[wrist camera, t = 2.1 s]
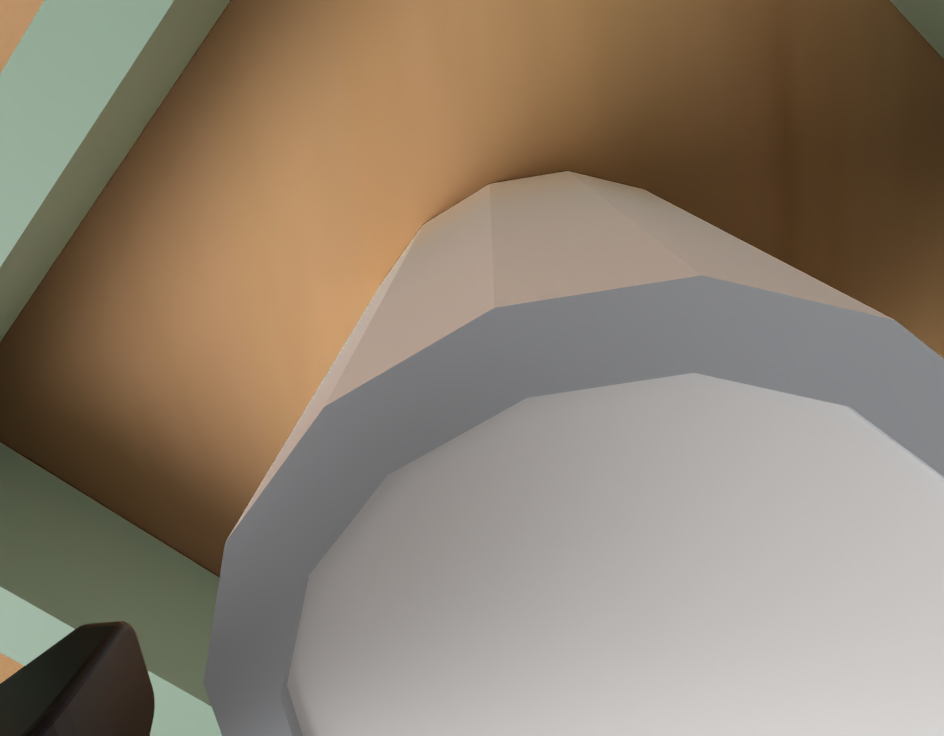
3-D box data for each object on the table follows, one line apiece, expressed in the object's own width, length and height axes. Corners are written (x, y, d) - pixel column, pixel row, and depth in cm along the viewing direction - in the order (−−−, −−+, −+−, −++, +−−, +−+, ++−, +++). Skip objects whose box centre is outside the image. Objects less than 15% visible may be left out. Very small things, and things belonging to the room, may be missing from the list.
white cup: (580, 12, 11) (744, 38, 5) (869, 368, 13) (1251, 714, 7) (229, 349, 13) (11, 693, 7) (531, 617, 15) (587, 1079, 9)
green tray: (1266, 295, 13) (1439, 361, 11) (581, 850, 17) (600, 981, 15) (499, -586, 9) (513, -783, 7) (-139, 420, 13) (-261, 509, 11)
